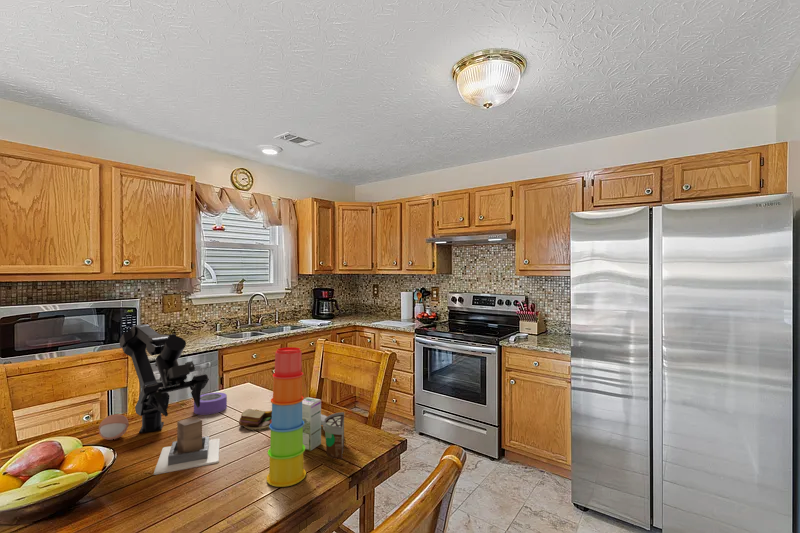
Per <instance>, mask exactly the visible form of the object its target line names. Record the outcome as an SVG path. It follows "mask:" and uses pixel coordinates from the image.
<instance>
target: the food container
mask: <svg viewBox="0 0 800 533" xmlns="http://www.w3.org/2000/svg"><path fill="white" fill-rule="evenodd" d="M322 430H323V431H324V433H325V434H324V436H325V449H326V450H325V451H326V455H327V457H329V458H330V459H334V460H343V455H342V454H343V453H344V448H343V447H345V412H342V411H341V412H335V413H332V414H330V415H327V417H326V418H325V421H324V424H323V425H322Z"/></svg>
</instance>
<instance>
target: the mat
mask: <svg viewBox="0 0 800 533" xmlns="http://www.w3.org/2000/svg"><path fill="white" fill-rule="evenodd" d="M220 440H221V438H212V439H209V450H208V458H207V459H201V460H196V461H190V462H185V463H179V464H174V465H168V455H169V452H170V449H171V446H172V445H171V446H165V447H162V449H161V452H160V455H159V458H158V460H157V462H156V466H155V468H154V472H153V476H154V475H160V474H165V473H171V472H177V471H183V470H187V469H193V468H197V467H204V466H208V465H214V464H219V463H220V462H219V460H220V442H221V441H220ZM202 449H204V446H202ZM175 454H177V451H176V453H175Z"/></svg>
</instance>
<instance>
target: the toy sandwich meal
mask: <svg viewBox="0 0 800 533" xmlns="http://www.w3.org/2000/svg"><path fill="white" fill-rule="evenodd" d="M271 423H272V410H269V411H268V410H267V411H265V410H260V409H252V408H248V409H246V410H244V411H243V412H242V413H241V414H240V418H239V421H238V424H239V426H243V427H244V428H245V429H246V430H250V431H262V430H268V429H270V428H269V425H270V424H271Z"/></svg>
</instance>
